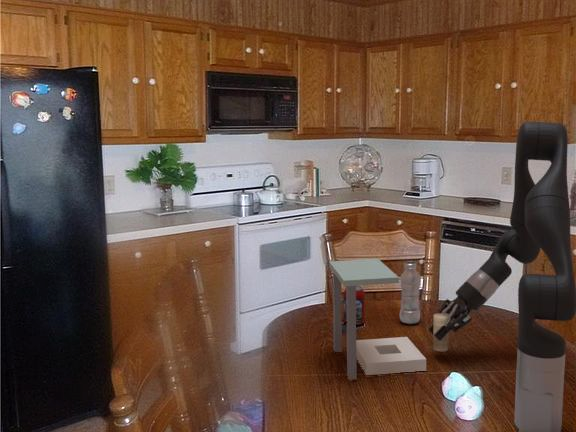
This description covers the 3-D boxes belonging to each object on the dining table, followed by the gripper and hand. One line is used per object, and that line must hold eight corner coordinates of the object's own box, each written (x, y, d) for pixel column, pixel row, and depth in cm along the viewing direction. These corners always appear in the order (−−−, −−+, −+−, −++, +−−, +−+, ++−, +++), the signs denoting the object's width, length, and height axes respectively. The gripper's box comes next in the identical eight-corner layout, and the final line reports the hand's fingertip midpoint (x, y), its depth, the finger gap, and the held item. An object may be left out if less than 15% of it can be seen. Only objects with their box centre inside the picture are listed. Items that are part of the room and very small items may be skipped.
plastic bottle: (395, 321, 190) (395, 261, 187) (412, 318, 193) (412, 259, 190) (407, 327, 184) (407, 266, 181) (424, 324, 187) (425, 263, 184)
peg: (446, 352, 158) (446, 318, 156) (431, 349, 160) (431, 316, 158) (449, 347, 161) (450, 314, 160) (435, 345, 163) (435, 312, 162)
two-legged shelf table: (377, 347, 169) (377, 258, 165) (398, 377, 149) (399, 277, 145) (330, 351, 168) (329, 261, 163) (345, 381, 148) (343, 280, 144)
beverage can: (340, 325, 188) (340, 289, 186) (348, 318, 194) (348, 283, 192) (360, 328, 185) (360, 291, 183) (367, 321, 191) (367, 286, 189)
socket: (406, 348, 168) (406, 336, 167) (426, 371, 152) (426, 359, 152) (352, 352, 166) (352, 340, 166) (366, 376, 151) (366, 363, 150)
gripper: (457, 274, 165) (415, 318, 166) (479, 288, 151) (433, 335, 152) (475, 291, 167) (433, 334, 167) (498, 306, 153) (453, 353, 153)
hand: (434, 334), depth 160 cm, fingers closed on peg, 4 cm apart
